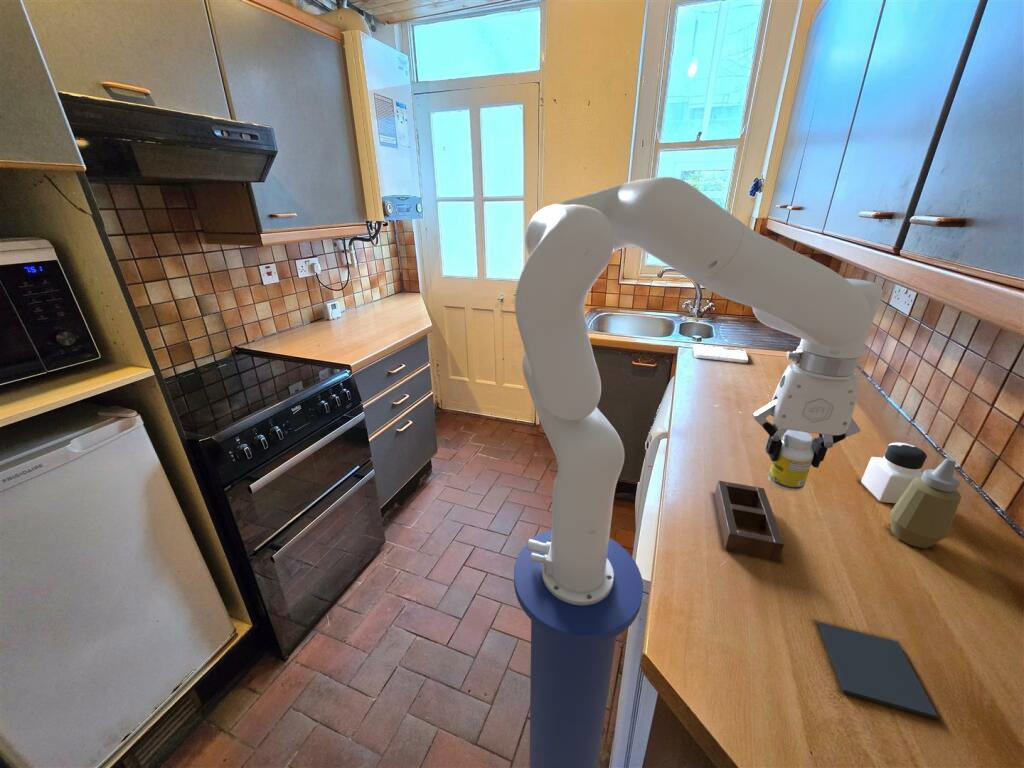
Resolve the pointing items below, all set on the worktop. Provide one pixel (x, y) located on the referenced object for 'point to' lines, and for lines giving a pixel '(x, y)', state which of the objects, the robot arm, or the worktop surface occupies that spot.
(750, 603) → the worktop surface
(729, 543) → the rack
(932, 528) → the squeeze bottle
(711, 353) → the white flat block
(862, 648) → the mat
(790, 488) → the supplement bottle
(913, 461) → the medicine bottle
